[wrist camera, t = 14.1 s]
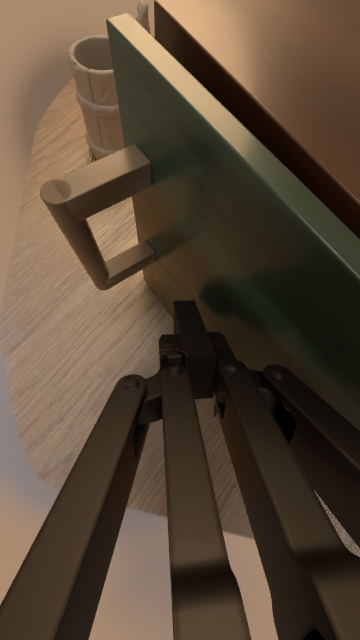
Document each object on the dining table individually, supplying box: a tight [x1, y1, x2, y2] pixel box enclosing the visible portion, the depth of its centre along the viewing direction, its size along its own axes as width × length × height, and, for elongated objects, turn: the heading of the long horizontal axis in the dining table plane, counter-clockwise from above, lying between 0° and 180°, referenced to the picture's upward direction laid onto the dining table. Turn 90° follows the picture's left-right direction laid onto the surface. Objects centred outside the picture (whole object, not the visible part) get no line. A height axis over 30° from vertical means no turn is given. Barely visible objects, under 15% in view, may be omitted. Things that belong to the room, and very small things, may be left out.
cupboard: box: [154, 0, 360, 239], centre depth 18 cm, size 15×22×20 cm
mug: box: [69, 1, 151, 160], centre depth 28 cm, size 8×12×12 cm, turn 135°
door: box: [40, 13, 360, 431], centre depth 15 cm, size 6×22×20 cm, turn 36°
